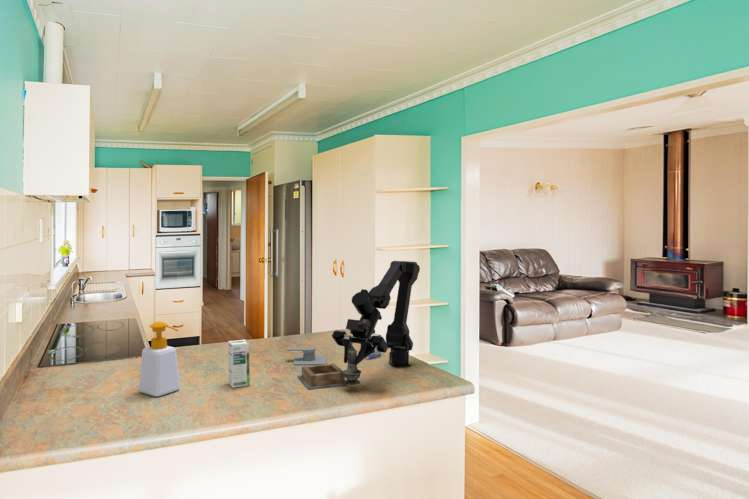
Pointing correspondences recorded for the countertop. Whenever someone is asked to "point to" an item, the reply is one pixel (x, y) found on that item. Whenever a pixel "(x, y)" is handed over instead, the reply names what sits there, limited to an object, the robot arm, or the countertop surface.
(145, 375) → the soap bottle
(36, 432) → the countertop surface
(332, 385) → the holder
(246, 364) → the syrup box
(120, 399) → the countertop surface
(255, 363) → the countertop surface
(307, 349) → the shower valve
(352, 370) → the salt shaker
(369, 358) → the medicine box
